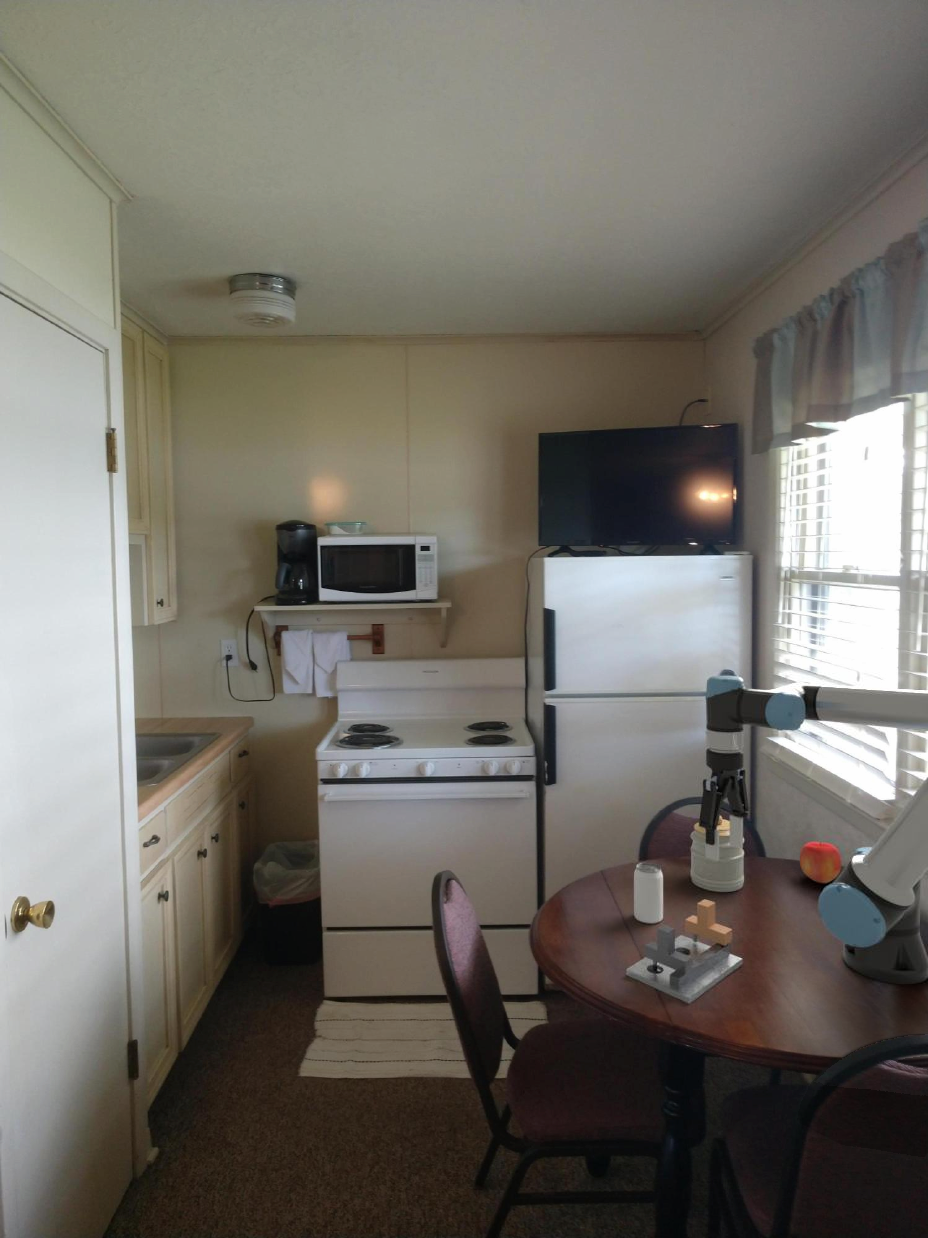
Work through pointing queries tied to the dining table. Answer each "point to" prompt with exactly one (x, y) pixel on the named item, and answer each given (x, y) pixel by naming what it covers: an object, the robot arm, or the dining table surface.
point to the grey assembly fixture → (683, 965)
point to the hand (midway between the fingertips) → (724, 852)
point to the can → (648, 893)
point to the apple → (820, 861)
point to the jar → (716, 873)
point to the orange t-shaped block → (707, 924)
